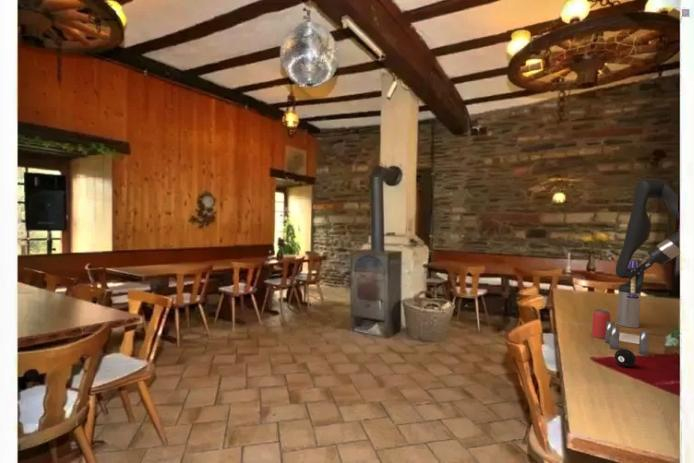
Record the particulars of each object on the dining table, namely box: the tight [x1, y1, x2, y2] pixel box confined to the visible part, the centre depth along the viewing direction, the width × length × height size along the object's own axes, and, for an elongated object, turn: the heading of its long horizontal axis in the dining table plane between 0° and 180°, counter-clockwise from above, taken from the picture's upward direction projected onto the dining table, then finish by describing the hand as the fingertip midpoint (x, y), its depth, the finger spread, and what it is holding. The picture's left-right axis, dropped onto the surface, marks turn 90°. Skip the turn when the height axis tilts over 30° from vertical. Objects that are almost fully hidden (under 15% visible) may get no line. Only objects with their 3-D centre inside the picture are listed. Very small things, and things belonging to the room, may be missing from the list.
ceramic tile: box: [619, 332, 640, 345], centre depth 173 cm, size 12×12×1 cm
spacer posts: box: [604, 320, 650, 356], centre depth 159 cm, size 11×16×9 cm, turn 39°
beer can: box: [591, 308, 611, 340], centre depth 175 cm, size 7×7×12 cm
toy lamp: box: [627, 259, 640, 299], centre depth 172 cm, size 5×5×17 cm
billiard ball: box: [614, 348, 636, 368], centre depth 139 cm, size 6×6×6 cm
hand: (628, 276), depth 174 cm, fingers closed on toy lamp, 4 cm apart
